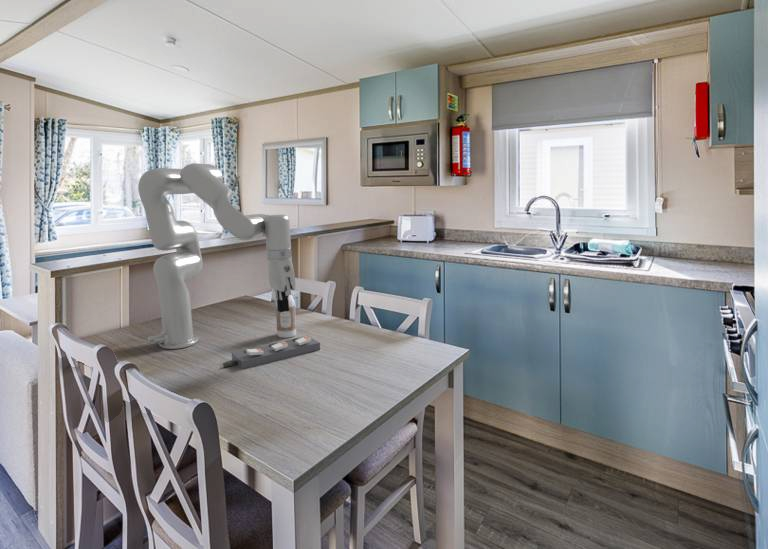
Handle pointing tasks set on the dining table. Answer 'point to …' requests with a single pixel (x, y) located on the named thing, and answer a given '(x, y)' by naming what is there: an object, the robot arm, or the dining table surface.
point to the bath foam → (286, 320)
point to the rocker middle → (279, 346)
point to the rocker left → (254, 351)
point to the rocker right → (303, 340)
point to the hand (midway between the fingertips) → (283, 310)
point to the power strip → (272, 353)
